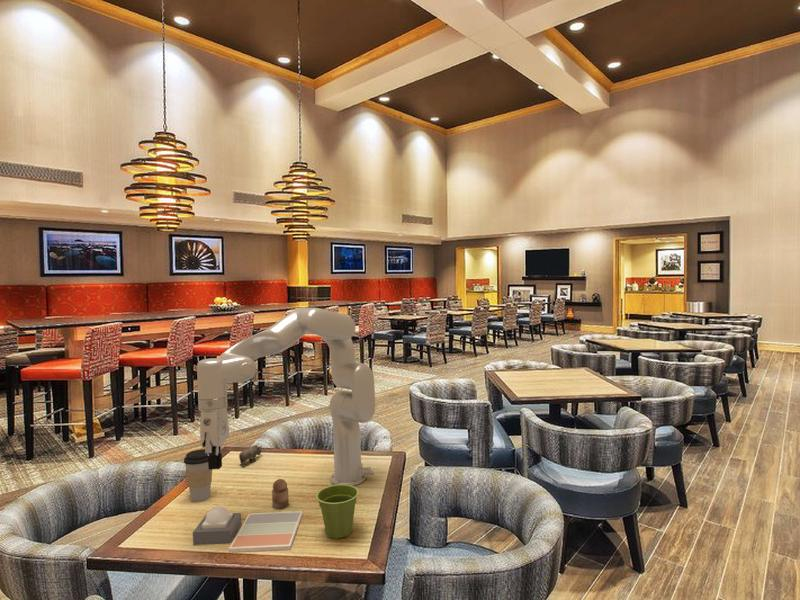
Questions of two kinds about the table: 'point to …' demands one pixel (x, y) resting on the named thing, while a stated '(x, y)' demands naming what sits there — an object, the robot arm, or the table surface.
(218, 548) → the table surface
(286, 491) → the walnut pawn
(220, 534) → the dome base
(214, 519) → the pop dome
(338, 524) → the plant pot
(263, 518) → the game board
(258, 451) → the rhino figurine
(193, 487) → the coffee cup
